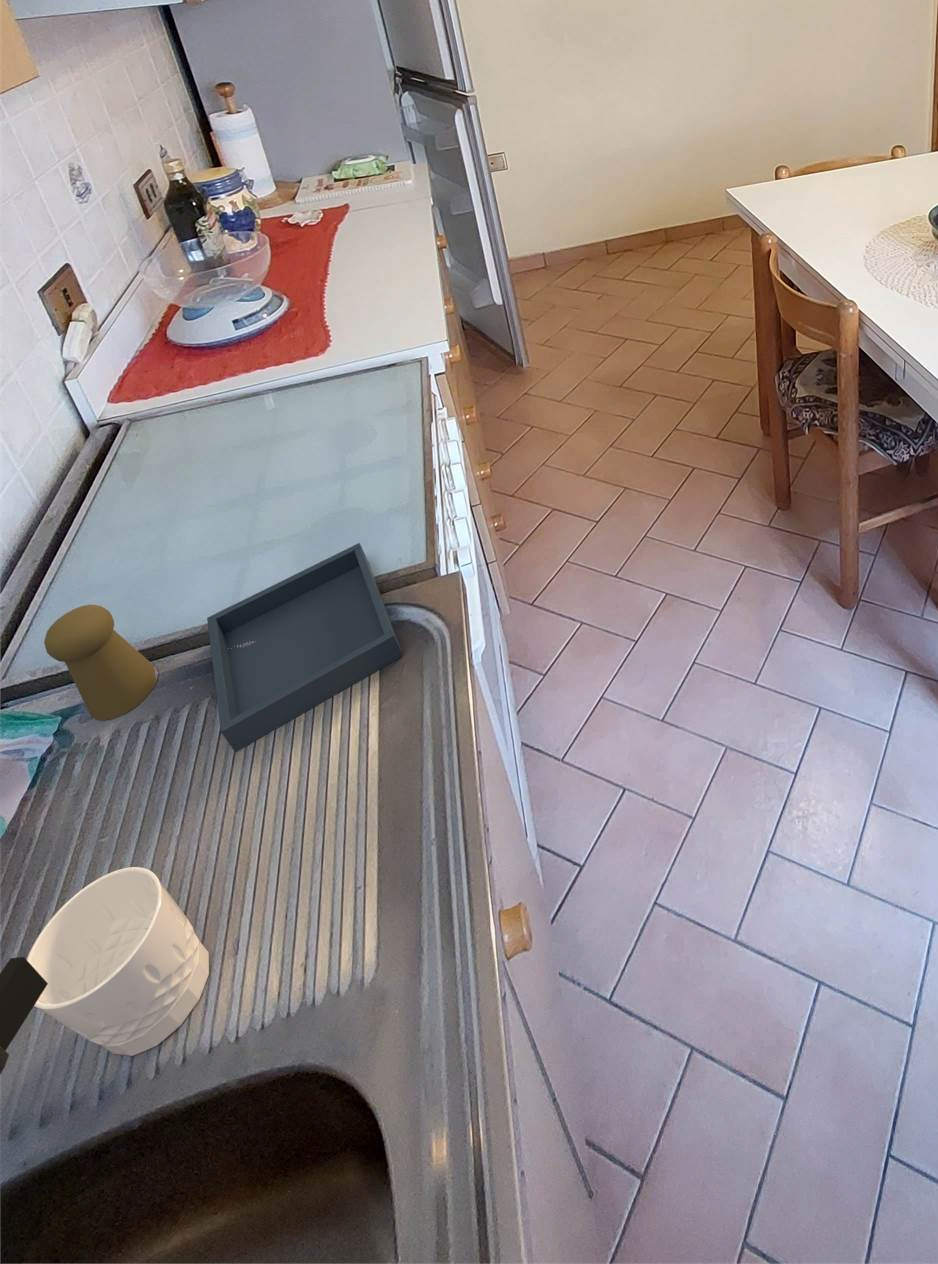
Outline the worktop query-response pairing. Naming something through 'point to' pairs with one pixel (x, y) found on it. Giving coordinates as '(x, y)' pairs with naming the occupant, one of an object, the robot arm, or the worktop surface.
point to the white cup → (120, 963)
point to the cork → (100, 661)
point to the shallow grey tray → (298, 645)
